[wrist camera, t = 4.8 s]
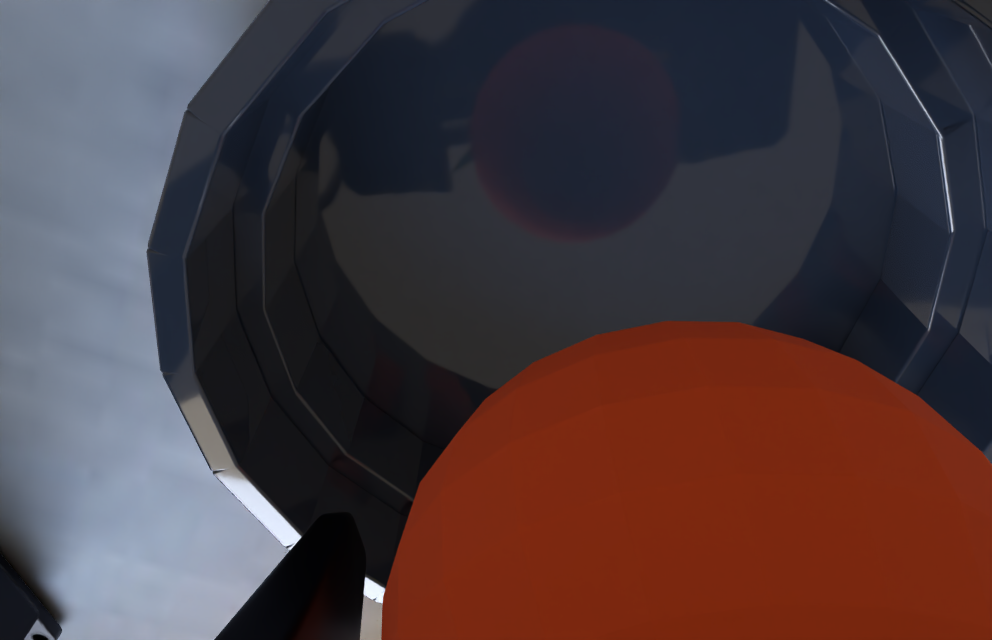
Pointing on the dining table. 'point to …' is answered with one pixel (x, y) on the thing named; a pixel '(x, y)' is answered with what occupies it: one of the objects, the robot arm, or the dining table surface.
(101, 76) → the dining table surface
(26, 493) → the dining table surface
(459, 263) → the fruit bowl
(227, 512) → the dining table surface
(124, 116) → the dining table surface
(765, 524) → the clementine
